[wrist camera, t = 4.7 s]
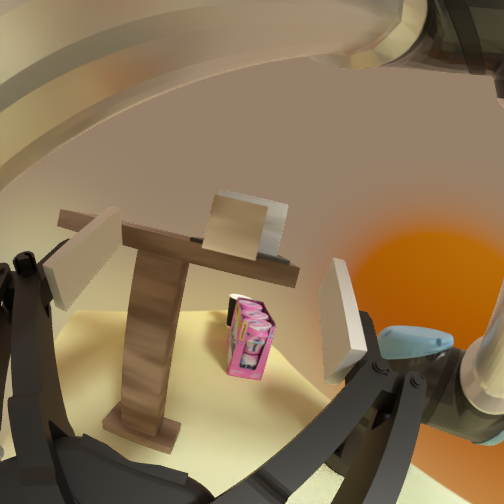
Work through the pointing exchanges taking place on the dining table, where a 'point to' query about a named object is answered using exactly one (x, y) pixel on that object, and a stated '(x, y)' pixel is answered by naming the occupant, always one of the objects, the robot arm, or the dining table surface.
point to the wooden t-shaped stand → (163, 320)
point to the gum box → (249, 339)
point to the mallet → (244, 225)
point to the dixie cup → (232, 307)
